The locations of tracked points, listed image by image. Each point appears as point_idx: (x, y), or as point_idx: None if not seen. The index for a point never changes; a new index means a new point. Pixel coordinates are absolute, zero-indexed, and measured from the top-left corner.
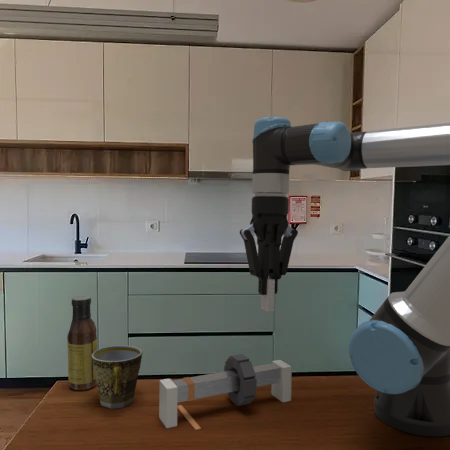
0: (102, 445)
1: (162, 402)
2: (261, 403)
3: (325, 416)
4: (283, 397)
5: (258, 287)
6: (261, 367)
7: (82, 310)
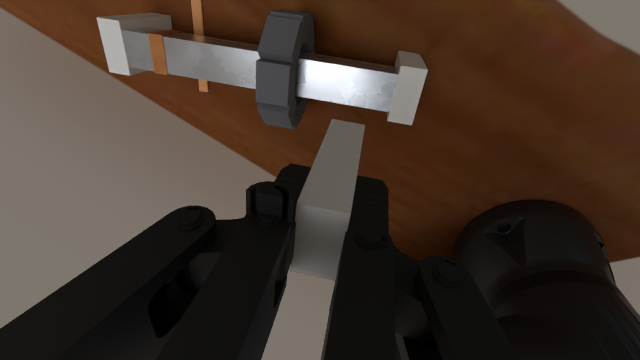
0: (68, 49)
1: None
2: None
3: (407, 173)
4: None
5: (275, 180)
6: (347, 81)
7: None
